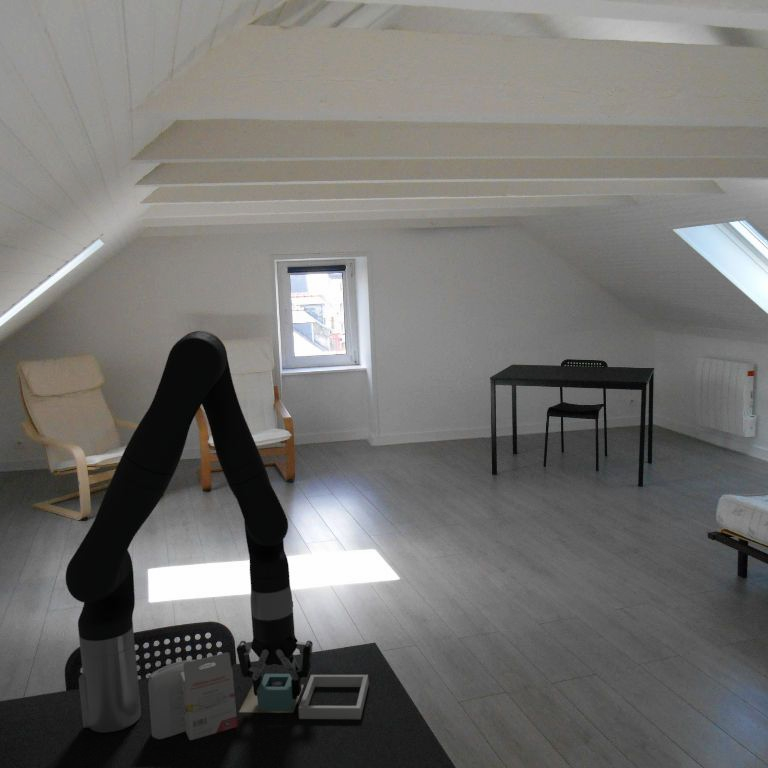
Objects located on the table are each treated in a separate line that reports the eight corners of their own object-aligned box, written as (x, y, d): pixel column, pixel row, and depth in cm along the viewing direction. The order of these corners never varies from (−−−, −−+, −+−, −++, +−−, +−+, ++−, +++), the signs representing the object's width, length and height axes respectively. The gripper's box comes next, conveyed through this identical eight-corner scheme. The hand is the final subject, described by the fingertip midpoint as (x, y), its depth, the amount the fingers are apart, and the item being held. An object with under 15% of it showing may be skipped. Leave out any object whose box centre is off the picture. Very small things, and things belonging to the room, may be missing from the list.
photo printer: (205, 715, 146) (200, 651, 144) (213, 726, 142) (208, 660, 140) (149, 734, 140) (143, 667, 139) (156, 745, 137) (149, 677, 135)
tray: (299, 723, 142) (298, 708, 141) (311, 689, 153) (311, 674, 153) (361, 724, 140) (360, 708, 140) (368, 689, 152) (368, 674, 152)
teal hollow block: (258, 710, 145) (256, 689, 144) (268, 688, 153) (267, 668, 152) (291, 710, 144) (289, 690, 144) (299, 688, 152) (298, 668, 152)
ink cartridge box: (231, 718, 144) (225, 641, 143) (238, 732, 140) (232, 652, 138) (183, 732, 141) (176, 652, 139) (189, 746, 136) (182, 664, 134)
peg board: (239, 717, 145) (237, 693, 144) (253, 689, 155) (251, 667, 154) (293, 717, 144) (291, 694, 143) (304, 689, 154) (302, 667, 153)
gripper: (227, 618, 142) (234, 707, 144) (307, 618, 141) (312, 707, 143) (239, 601, 150) (245, 686, 152) (314, 601, 148) (320, 686, 150)
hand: (278, 696), depth 147 cm, fingers closed on teal hollow block, 6 cm apart
